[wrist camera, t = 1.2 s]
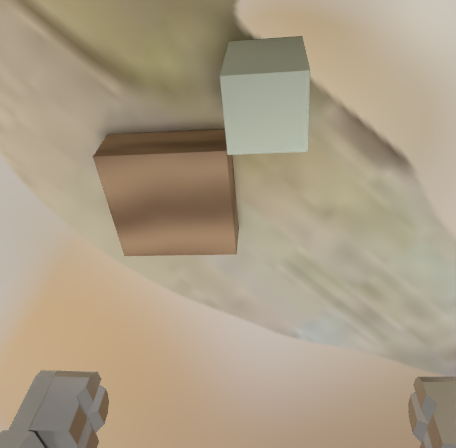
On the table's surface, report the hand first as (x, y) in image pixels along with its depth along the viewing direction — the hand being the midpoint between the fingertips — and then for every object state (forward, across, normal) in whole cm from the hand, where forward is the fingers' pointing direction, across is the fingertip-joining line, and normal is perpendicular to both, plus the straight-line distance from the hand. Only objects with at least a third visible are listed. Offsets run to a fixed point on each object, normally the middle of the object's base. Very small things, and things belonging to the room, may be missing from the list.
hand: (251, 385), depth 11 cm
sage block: (+25, 0, 0) cm, 25 cm away
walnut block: (+25, +8, +9) cm, 28 cm away
